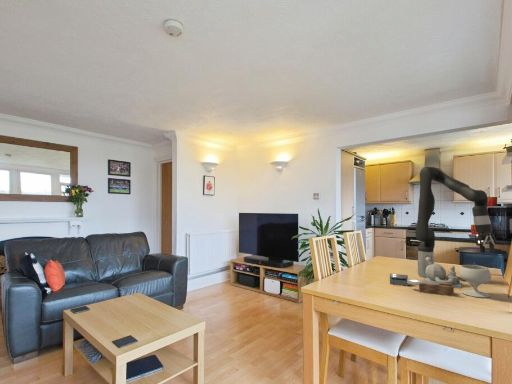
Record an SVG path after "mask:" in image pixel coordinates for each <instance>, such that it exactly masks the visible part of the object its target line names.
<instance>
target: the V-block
mask: <svg viewBox="0 0 512 384" xmlns="http://www.w3.org/2000/svg"><path fill="white" fill-rule="evenodd" d="M408 276H409V275H408V274H398V273H389V285H393V286H394V285H396V286H401V285H402V286H403V287H409V284H407V279H409V277H408Z"/></svg>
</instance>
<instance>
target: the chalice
mask: <svg viewBox="0 0 512 384" xmlns="http://www.w3.org/2000/svg"><path fill="white" fill-rule="evenodd" d="M458 276H459V277H460V278H461V279H462V280H463V281H464V280H465V281H464V282H466V281H467V283H469V284H470V285H471V286H472V289H464V290H461V293H462V294H464V295H467V296H470V297H473V298H474V297H475V298H490V296H491V295H490V294H489V293H487V292H484V291H480V290H478V287H479V286H480V285H483V284H484V285H485V284H486V283H489V282H490V281H491V279H492V274H491V271H490V269H489V268H488V267H486V266H482V265H477V264H475V265H473V264H470V265H469V264H462V265H460V267H459V270H458Z"/></svg>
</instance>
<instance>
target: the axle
mask: <svg viewBox="0 0 512 384" xmlns="http://www.w3.org/2000/svg"><path fill="white" fill-rule="evenodd" d="M419 283H425V284H435V285H440V282H432V281H424V280H422V279H420V280H419V279H412V278H411V279H410V278H408V279H407V284H408V285H414V286H419Z"/></svg>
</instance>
